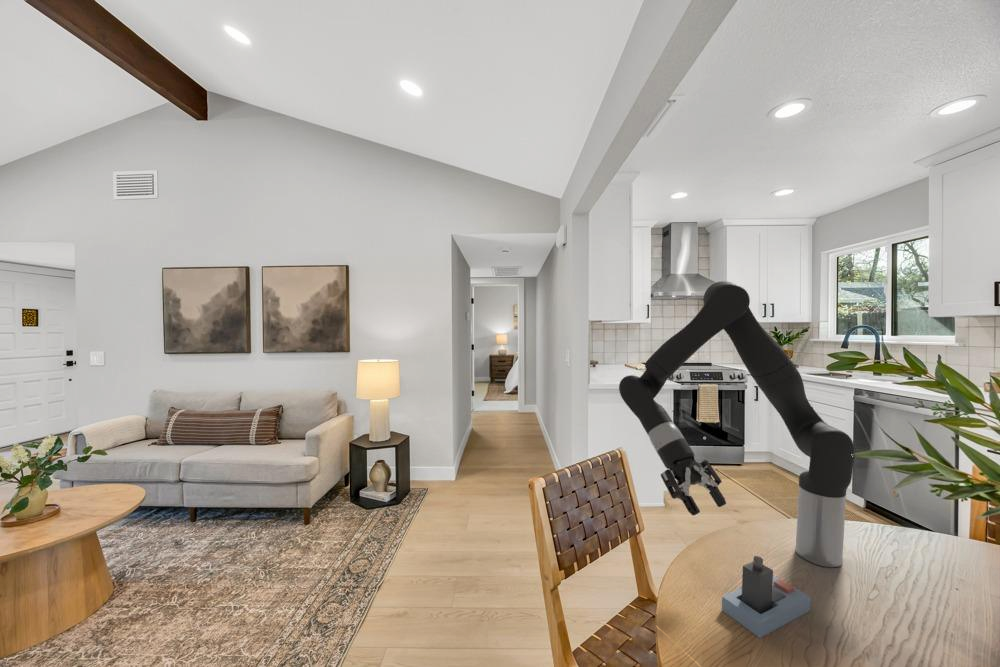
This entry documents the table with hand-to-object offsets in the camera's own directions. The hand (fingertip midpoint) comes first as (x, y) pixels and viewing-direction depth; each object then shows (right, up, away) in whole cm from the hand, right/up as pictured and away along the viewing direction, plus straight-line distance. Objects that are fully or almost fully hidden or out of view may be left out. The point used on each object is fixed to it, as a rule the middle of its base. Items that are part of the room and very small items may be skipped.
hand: (709, 509), depth 95 cm
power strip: (+7, -17, -8) cm, 20 cm away
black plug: (+5, -17, -9) cm, 20 cm away
